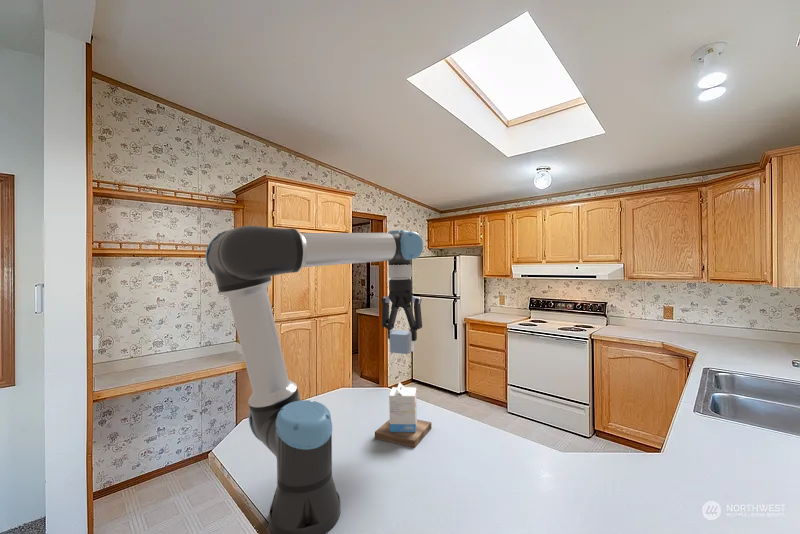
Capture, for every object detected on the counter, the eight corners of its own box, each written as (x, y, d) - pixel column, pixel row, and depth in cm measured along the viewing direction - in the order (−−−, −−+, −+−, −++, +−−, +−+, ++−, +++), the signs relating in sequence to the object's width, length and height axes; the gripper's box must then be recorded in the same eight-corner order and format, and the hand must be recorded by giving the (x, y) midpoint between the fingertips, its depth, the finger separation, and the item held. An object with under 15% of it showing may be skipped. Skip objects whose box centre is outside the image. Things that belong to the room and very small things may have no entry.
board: (414, 447, 106) (414, 440, 106) (374, 438, 112) (374, 431, 112) (431, 428, 119) (431, 422, 119) (394, 420, 125) (394, 415, 125)
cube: (407, 354, 110) (406, 335, 110) (390, 352, 112) (389, 333, 112) (415, 349, 115) (414, 331, 115) (398, 347, 118) (398, 330, 118)
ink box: (415, 433, 111) (415, 390, 111) (389, 432, 112) (388, 390, 112) (417, 421, 119) (416, 381, 120) (392, 420, 120) (392, 381, 120)
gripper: (432, 277, 112) (434, 349, 113) (380, 278, 121) (382, 345, 121) (422, 279, 106) (425, 355, 106) (369, 279, 114) (371, 350, 115)
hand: (402, 349), depth 114 cm, fingers closed on cube, 6 cm apart
